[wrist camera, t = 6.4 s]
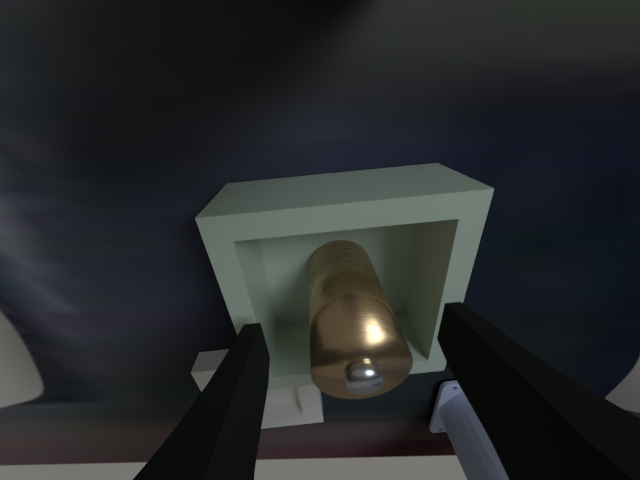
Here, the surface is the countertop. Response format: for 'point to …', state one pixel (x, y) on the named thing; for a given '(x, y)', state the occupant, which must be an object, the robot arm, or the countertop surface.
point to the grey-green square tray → (353, 225)
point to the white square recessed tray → (269, 395)
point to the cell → (352, 325)
